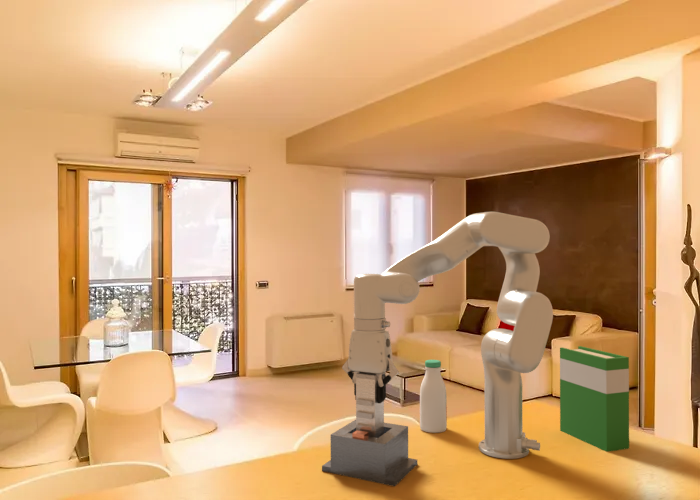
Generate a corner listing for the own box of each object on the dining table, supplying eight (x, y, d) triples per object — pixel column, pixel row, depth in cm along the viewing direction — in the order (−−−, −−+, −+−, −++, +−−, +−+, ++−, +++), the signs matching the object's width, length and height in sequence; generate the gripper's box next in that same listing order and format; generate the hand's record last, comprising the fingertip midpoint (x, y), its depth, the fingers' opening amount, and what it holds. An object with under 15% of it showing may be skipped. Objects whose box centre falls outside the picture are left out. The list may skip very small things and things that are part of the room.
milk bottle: (446, 434, 157) (445, 363, 157) (418, 432, 159) (418, 363, 159) (447, 425, 165) (446, 358, 165) (421, 424, 166) (420, 357, 166)
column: (384, 461, 134) (383, 371, 134) (373, 470, 129) (373, 376, 129) (365, 458, 137) (365, 369, 137) (354, 466, 132) (354, 374, 132)
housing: (417, 464, 135) (417, 423, 135) (394, 486, 123) (394, 441, 123) (349, 451, 144) (349, 413, 144) (321, 470, 132) (321, 428, 132)
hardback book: (560, 430, 160) (559, 347, 160) (581, 427, 162) (580, 346, 162) (606, 451, 143) (606, 359, 143) (629, 448, 145) (628, 357, 145)
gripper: (408, 325, 133) (408, 401, 133) (345, 321, 141) (346, 392, 141) (396, 329, 126) (396, 409, 126) (331, 325, 134) (331, 400, 134)
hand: (370, 399), depth 133 cm, fingers closed on column, 5 cm apart
